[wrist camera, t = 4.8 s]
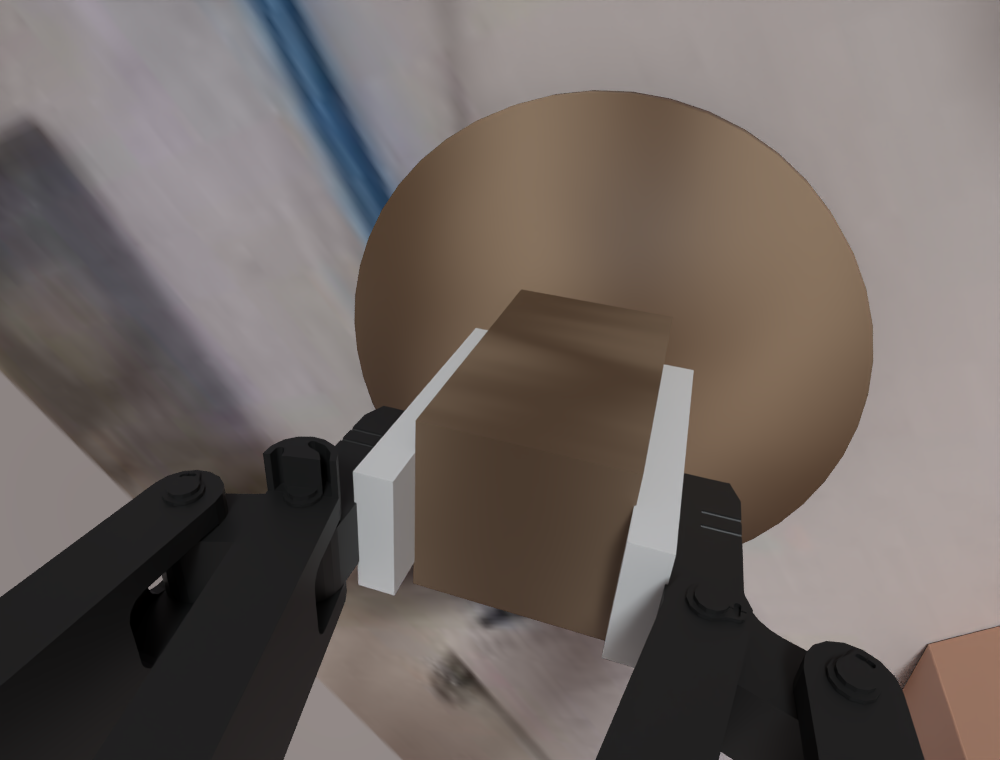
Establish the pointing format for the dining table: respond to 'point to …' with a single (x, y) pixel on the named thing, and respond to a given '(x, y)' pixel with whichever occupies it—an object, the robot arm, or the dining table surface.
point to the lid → (604, 337)
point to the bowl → (958, 698)
